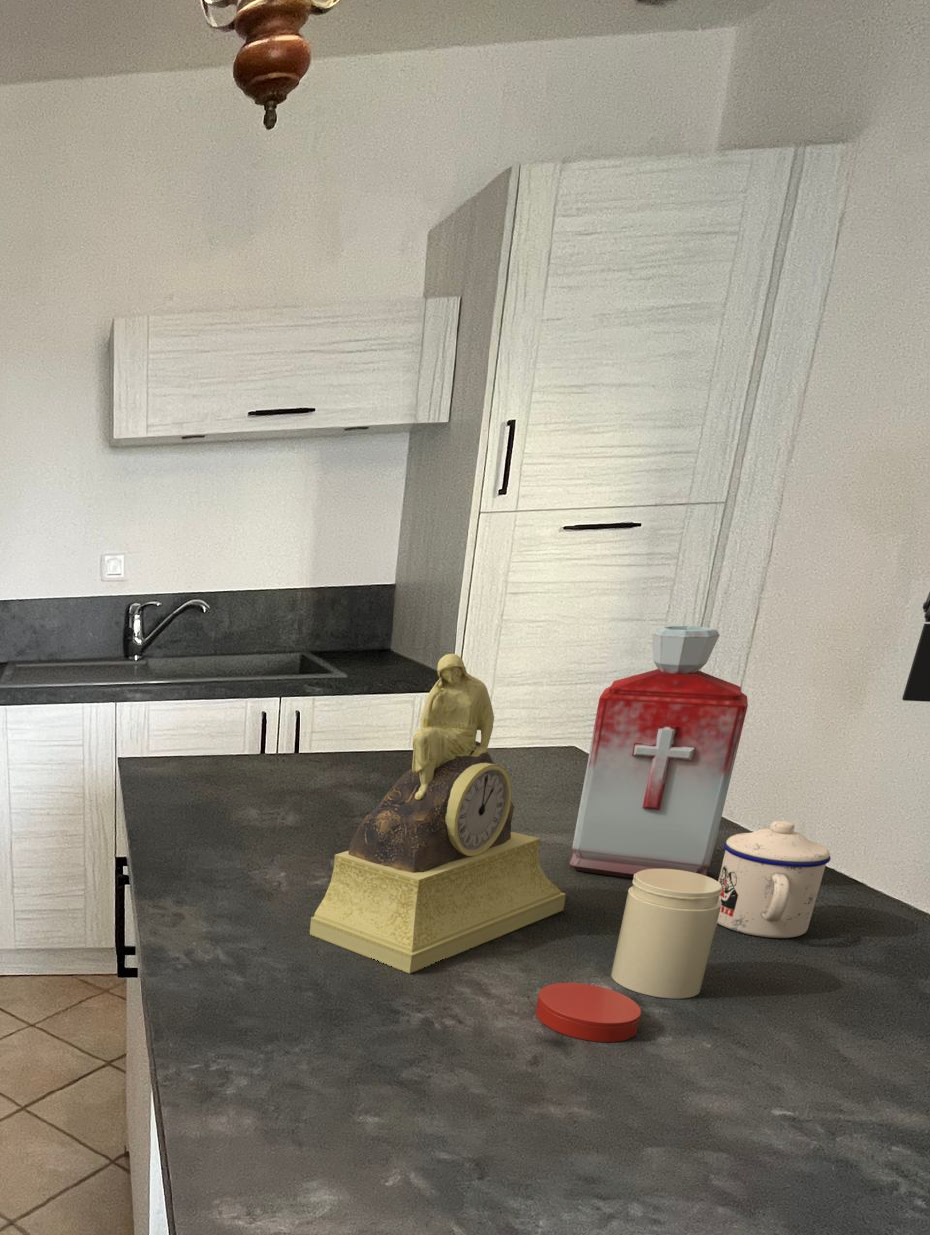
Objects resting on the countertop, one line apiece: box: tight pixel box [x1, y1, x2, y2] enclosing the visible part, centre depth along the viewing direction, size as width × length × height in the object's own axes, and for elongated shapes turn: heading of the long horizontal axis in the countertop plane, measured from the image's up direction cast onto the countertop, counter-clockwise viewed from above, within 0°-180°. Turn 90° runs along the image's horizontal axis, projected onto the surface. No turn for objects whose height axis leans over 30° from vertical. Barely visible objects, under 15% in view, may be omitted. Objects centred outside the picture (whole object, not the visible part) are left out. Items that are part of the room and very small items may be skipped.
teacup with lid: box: [717, 820, 831, 939], centre depth 104 cm, size 12×9×12 cm
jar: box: [610, 869, 722, 1000], centre depth 94 cm, size 7×7×11 cm
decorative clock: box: [309, 653, 567, 975], centre depth 106 cm, size 28×13×30 cm, turn 123°
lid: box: [535, 982, 642, 1043], centre depth 89 cm, size 8×8×2 cm
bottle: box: [568, 625, 749, 879], centre depth 119 cm, size 14×10×30 cm
